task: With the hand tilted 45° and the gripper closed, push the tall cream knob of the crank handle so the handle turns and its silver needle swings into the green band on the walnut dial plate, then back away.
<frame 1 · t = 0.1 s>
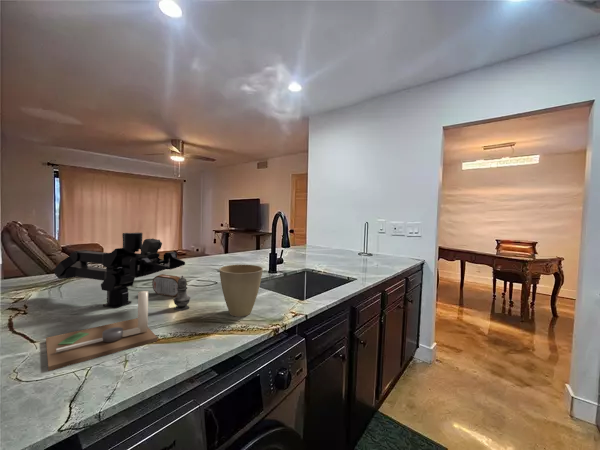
hand: (175, 265, 92), 17 cm above the counter, tool horizontal, fingers open, 9 cm apart
tin: (167, 295, 113), on the counter
dial plate: (112, 343, 71), on the counter
salt shaker: (181, 308, 98), on the counter
crank handle: (106, 318, 70), point 7 cm above the counter, hinge at 0.0°
plant pot: (240, 313, 95), on the counter
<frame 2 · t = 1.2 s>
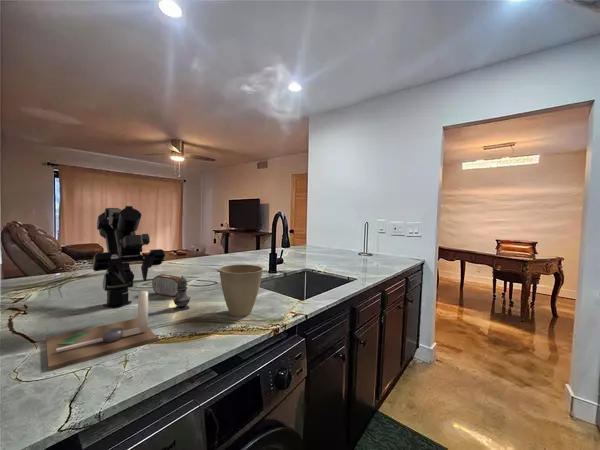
hand: (135, 281, 81), 14 cm above the counter, tool tilted 45°, fingers open, 5 cm apart
nothing on the counter moved.
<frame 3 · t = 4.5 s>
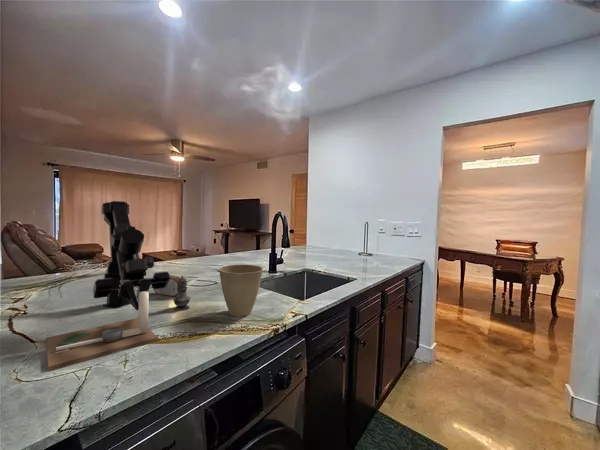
hand: (139, 309, 75), 7 cm above the counter, tool tilted 45°, fingers closed
crank handle: (106, 318, 70), point 7 cm above the counter, hinge at 5.0°, touching gripper
everything else where it was.
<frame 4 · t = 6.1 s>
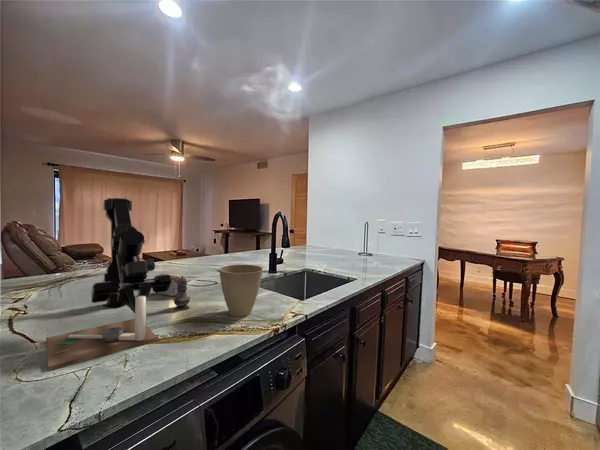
hand: (139, 314, 72), 7 cm above the counter, tool tilted 45°, fingers closed, pressing on crank handle
crank handle: (107, 317, 70), point 7 cm above the counter, hinge at 42.0°, touching gripper
everything else where it was.
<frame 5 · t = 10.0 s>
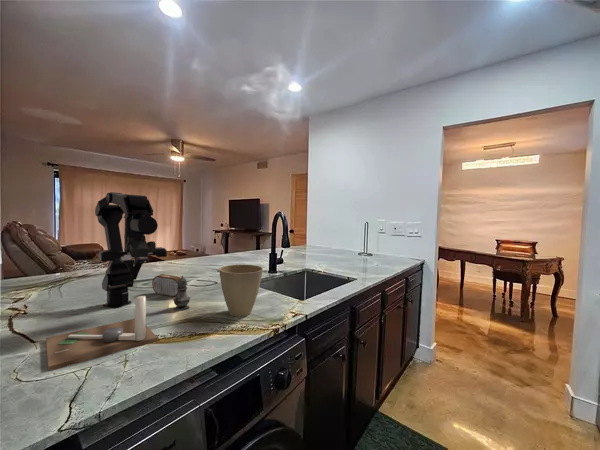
hand: (134, 279, 90), 12 cm above the counter, tool pointing down, fingers closed
crank handle: (107, 317, 70), point 7 cm above the counter, hinge at 42.1°
everything else where it was.
at the end: crank handle at +42° (first picture: +0°) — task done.
